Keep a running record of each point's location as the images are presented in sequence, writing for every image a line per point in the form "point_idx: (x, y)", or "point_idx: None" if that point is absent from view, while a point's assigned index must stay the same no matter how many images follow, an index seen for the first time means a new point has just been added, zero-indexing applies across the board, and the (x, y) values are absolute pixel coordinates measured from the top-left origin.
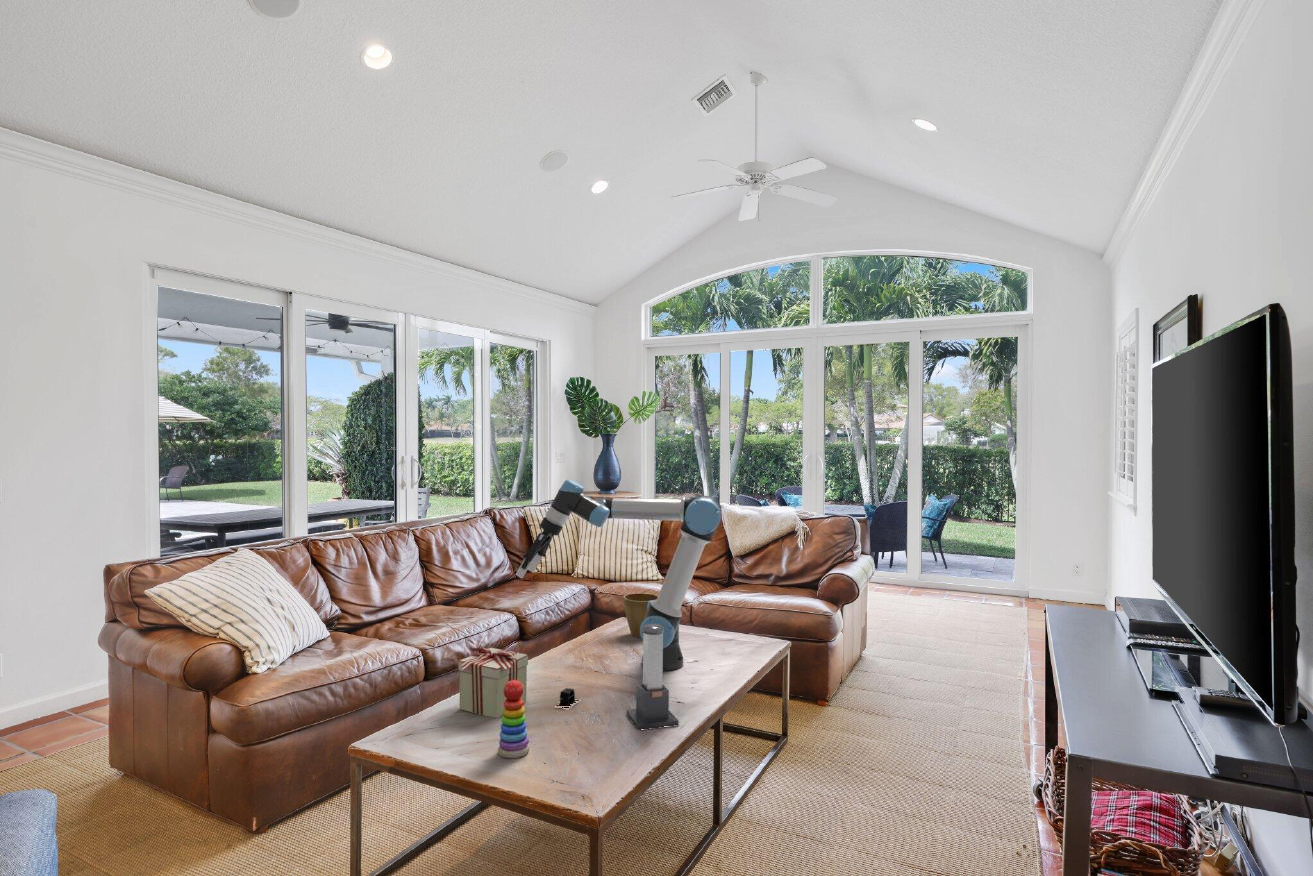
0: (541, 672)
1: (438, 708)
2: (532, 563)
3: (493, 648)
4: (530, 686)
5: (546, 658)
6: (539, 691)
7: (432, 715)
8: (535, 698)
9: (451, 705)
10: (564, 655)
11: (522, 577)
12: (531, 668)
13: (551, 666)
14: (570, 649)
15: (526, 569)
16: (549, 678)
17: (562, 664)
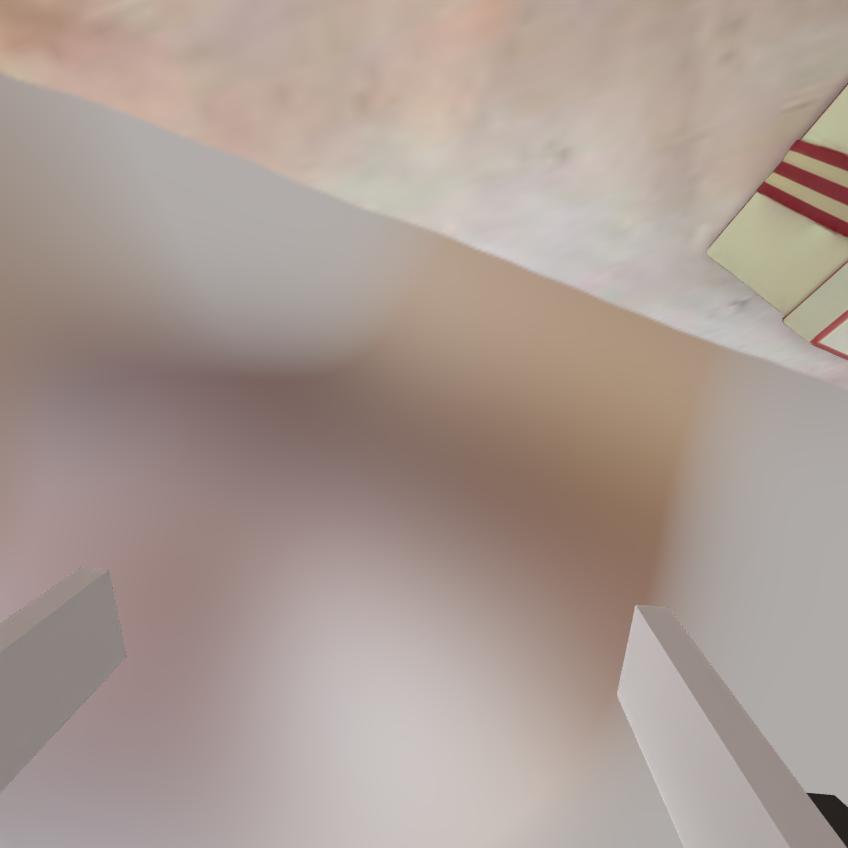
0: (442, 103)
1: (776, 359)
2: (13, 739)
3: (844, 327)
4: (640, 101)
5: (239, 141)
6: (728, 20)
7: (830, 356)
8: (831, 11)
9: (765, 335)
10: (146, 40)
11: (676, 622)
12: (394, 176)
13: (344, 71)
14: (29, 30)
15: (788, 779)
16: (531, 20)
17: (294, 3)
